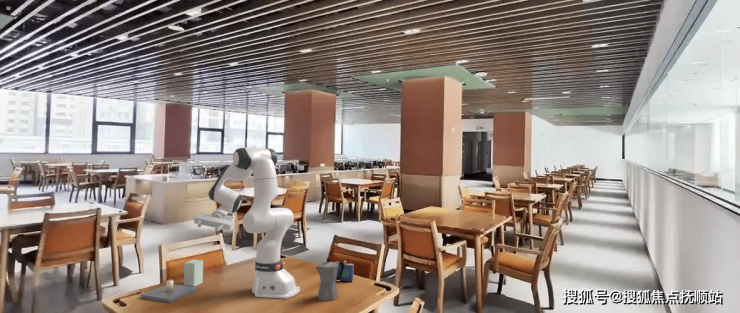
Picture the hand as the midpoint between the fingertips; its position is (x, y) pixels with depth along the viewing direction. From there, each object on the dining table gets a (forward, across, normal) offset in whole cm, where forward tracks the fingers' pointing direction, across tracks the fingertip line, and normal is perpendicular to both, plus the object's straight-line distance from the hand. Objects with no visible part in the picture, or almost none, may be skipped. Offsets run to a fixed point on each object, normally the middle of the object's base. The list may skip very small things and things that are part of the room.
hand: (207, 227), depth 194 cm
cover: (+14, +2, +24) cm, 28 cm away
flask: (+2, +75, +13) cm, 76 cm away
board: (+28, -2, +21) cm, 35 cm away
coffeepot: (+24, +70, +9) cm, 74 cm away
